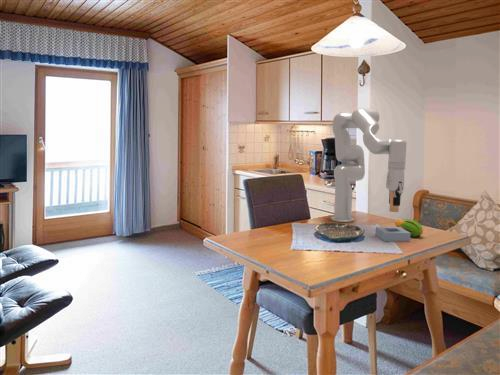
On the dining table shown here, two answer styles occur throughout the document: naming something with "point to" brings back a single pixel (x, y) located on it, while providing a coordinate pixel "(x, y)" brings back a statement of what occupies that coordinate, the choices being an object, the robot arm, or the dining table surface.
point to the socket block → (393, 234)
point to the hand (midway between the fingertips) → (394, 204)
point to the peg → (392, 208)
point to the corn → (410, 227)
